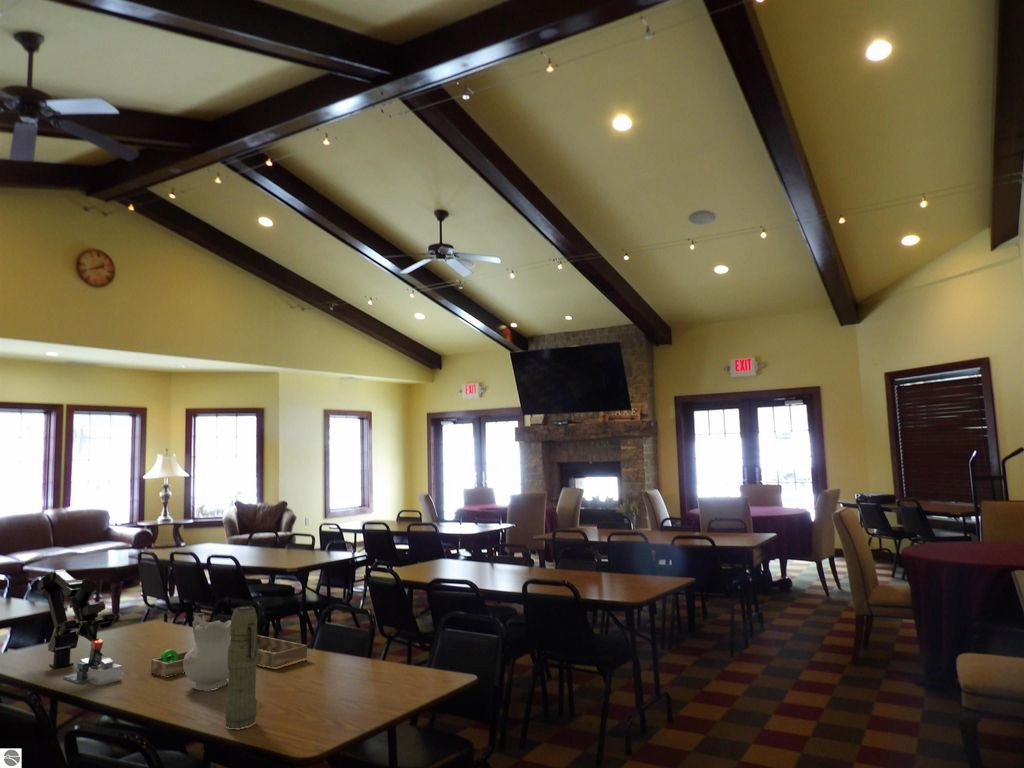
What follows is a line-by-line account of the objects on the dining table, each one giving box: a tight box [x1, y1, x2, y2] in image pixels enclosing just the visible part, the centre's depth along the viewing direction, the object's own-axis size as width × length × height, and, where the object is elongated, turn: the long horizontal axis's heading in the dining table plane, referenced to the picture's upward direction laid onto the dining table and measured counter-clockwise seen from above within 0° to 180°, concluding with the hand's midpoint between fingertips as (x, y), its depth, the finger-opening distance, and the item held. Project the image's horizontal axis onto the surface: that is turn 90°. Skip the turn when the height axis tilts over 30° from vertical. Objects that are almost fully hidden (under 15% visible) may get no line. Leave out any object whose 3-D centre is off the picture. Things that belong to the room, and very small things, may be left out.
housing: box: [87, 662, 123, 686], centre depth 263 cm, size 8×8×5 cm
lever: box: [79, 638, 114, 672], centre depth 266 cm, size 16×4×12 cm, turn 56°
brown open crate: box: [257, 634, 308, 667], centre depth 291 cm, size 35×16×6 cm, turn 56°
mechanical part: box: [160, 648, 178, 663], centre depth 277 cm, size 12×6×8 cm, turn 137°
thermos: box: [224, 605, 258, 728], centre depth 219 cm, size 9×12×35 cm
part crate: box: [150, 650, 190, 677], centre depth 276 cm, size 11×17×5 cm, turn 146°
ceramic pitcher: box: [183, 612, 231, 691], centre depth 258 cm, size 22×20×25 cm
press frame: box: [62, 660, 100, 685], centre depth 268 cm, size 12×14×6 cm
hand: (95, 642), depth 269 cm, fingers closed, pressing on lever
